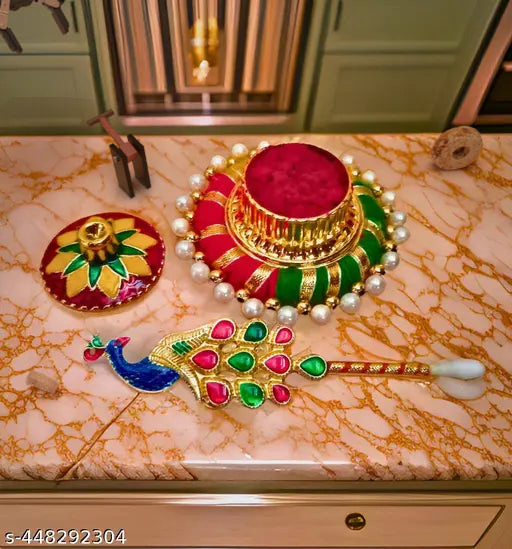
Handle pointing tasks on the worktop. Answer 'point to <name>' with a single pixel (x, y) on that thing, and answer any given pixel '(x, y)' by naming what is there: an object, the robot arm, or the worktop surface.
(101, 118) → the latch lever
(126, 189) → the latch bracket
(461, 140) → the stone disc
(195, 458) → the worktop surface
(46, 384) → the beige block
